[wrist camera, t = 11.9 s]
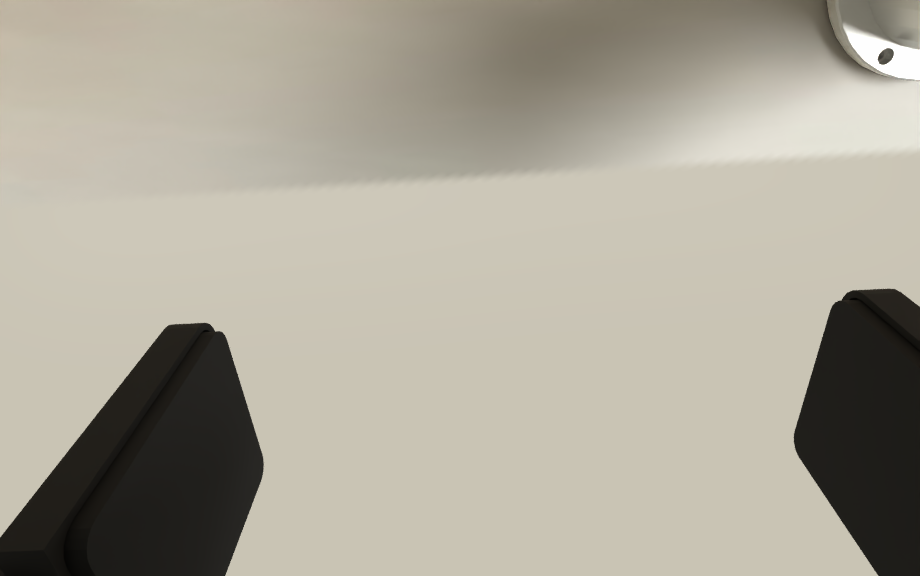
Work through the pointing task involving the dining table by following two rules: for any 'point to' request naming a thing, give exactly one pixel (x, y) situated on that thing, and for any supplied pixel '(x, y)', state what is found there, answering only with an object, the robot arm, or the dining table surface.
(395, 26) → the dining table surface
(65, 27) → the dining table surface
